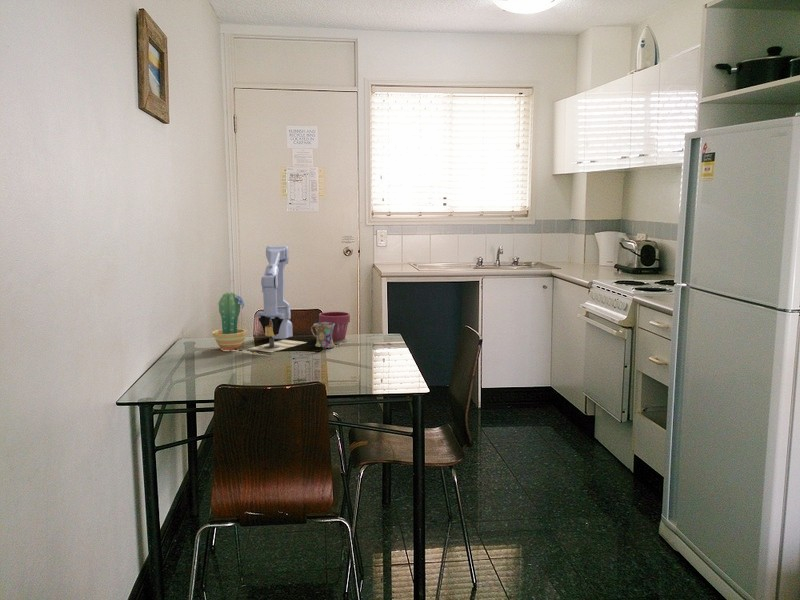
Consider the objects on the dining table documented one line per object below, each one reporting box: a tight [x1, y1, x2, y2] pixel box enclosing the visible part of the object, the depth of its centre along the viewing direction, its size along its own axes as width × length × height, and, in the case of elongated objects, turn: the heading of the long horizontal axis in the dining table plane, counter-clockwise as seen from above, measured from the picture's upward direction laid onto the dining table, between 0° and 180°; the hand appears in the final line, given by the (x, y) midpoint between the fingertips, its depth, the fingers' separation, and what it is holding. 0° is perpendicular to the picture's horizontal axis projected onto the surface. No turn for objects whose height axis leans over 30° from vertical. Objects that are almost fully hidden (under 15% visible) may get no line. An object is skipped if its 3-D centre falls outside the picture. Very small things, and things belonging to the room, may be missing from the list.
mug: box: [310, 322, 335, 350], centre depth 301 cm, size 12×9×11 cm
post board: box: [246, 337, 308, 355], centre depth 300 cm, size 24×14×5 cm, turn 148°
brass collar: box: [264, 324, 278, 337], centre depth 296 cm, size 5×5×4 cm
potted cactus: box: [211, 292, 248, 351], centre depth 297 cm, size 15×15×25 cm
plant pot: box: [318, 311, 351, 341], centre depth 315 cm, size 14×14×13 cm
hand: (271, 333), depth 296 cm, fingers closed on brass collar, 5 cm apart
